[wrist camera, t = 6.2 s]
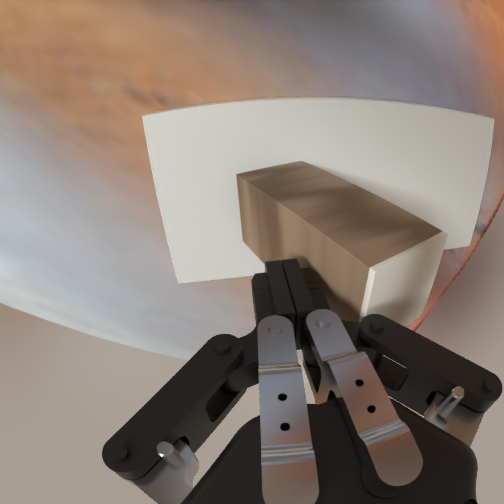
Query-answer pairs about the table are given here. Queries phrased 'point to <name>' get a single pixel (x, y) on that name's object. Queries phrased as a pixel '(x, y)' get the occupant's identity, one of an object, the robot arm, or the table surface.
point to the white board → (316, 154)
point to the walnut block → (342, 239)
